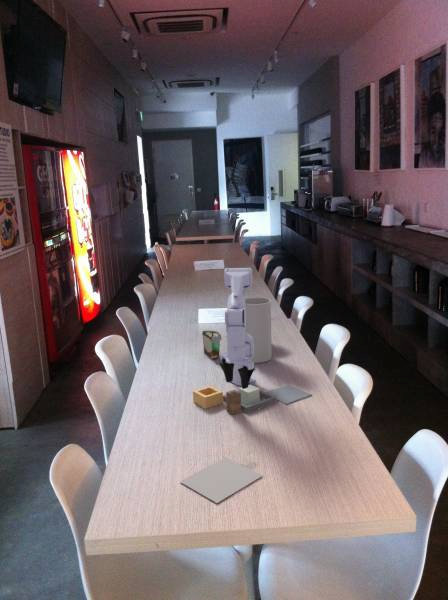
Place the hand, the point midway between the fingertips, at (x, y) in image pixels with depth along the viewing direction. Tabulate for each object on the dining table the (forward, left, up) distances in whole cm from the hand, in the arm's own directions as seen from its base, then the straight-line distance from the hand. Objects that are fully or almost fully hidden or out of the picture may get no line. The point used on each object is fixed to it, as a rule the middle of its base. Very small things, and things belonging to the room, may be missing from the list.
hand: (237, 384), depth 184 cm
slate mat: (0, +22, -10) cm, 24 cm away
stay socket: (-13, -3, -10) cm, 16 cm away
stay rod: (-1, -1, -10) cm, 10 cm away
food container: (-51, +27, -10) cm, 58 cm away
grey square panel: (+24, -25, -10) cm, 37 cm away
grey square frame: (-4, +8, -10) cm, 13 cm away
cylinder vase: (-36, +38, -10) cm, 53 cm away
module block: (-4, +8, -10) cm, 13 cm away
